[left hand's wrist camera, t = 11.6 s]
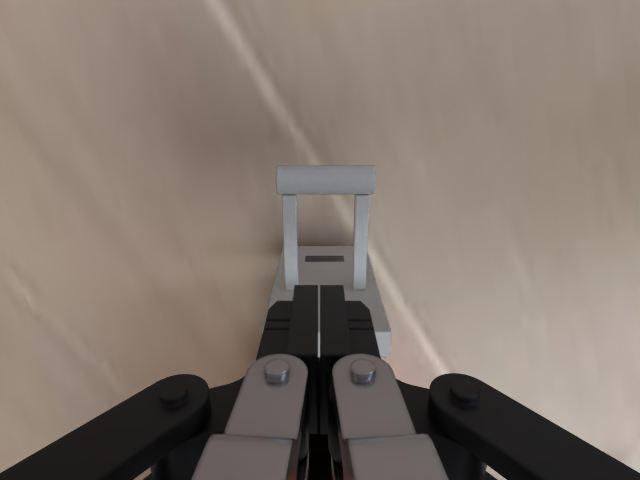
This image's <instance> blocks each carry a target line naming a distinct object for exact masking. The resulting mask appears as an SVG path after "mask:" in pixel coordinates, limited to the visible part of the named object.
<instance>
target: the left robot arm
mask: <svg viewBox="0 0 640 480" xmlns="http://www.w3.org/2000/svg"><path fill="white" fill-rule="evenodd" d="M317 416H318V285H295V286H294V293H293V301H276V302H275V303H274V304H273V305H272V306H271V307H270V308H269V309H268V313H267V317H266V322H265V325H264V330H263V334H262V338H261V342H260V346H259V350H258V354H257V359H256V361H255V362H254V363H252V364H251V366H250V367H249V368H248V370H247V373H246V375H245V376H244V377H243V378H241V379H240V380H238V381H236V382H233V383H230V384H227V385H223V386H219V387H214V388H210V389H209V387H208V384H207V383H206V381H205V380H203V379H202V378H200V377H198V376H195V375H190V374H181V375H174V376H170V377H167V378H164V379H162V380H160V381H158V382H156V383H154V384H153V385H151V386H149V387H147V388H146V389H144V390H142V391H141V392H139V393H137V394H135V395H134V396H132V397H130V398H129V399H127V400H125V401H123V402H122V403H120V404H118V405H117V406H115V407H113V408H111V409H110V410H108V411H106V412H105V413H103V414H101V415H99V416H98V417H96V418H94V419H93V420H91V421H89V422H87V423H86V424H84V425H82V426H80V427H79V428H77V429H75V430H74V431H72V432H70V433H68V434H67V435H65V436H63V437H62V438H60V439H58V440H56V441H55V442H53V443H51V444H50V445H48V446H46V447H44V448H43V449H41V450H39V451H38V452H36V453H34V454H32V455H31V456H29V457H27V458H26V459H24V460H22V461H20V462H19V463H17V464H15V465H14V466H12V467H10V468H8V469H7V470H5V471H3V472H2V473H0V480H133V479H135V478H136V477H137V476H139V475H140V474H141V473H143V472H144V471H145V470H147V469H148V468H149V467H151V472H152V473H151V474H150V475H148V476H147V477H146V478H144V479H143V480H307V476H308V467H309V434H317ZM320 434H328V444H329V452H330V454H331V467H332V476H333V480H497V479H496V478H494V477H493V476H492V475H490V474H489V473H488V472H486V467H487V465H488V466H489V467H491V468H492V469H493V470H495V471H496V472H497V473H499V474H500V475H501V476H503V477H504V478H505V479H507V480H640V473H638V472H637V471H635V470H633V469H632V468H630V467H628V466H626V465H625V464H623V463H621V462H620V461H618V460H616V459H614V458H613V457H611V456H609V455H608V454H606V453H604V452H602V451H601V450H599V449H597V448H596V447H594V446H592V445H590V444H589V443H587V442H585V441H584V440H582V439H580V438H578V437H577V436H575V435H573V434H572V433H570V432H568V431H566V430H565V429H563V428H561V427H559V426H558V425H556V424H554V423H553V422H551V421H549V420H547V419H546V418H544V417H542V416H541V415H539V414H537V413H535V412H534V411H532V410H530V409H529V408H527V407H525V406H523V405H522V404H520V403H518V402H517V401H515V400H513V399H511V398H510V397H508V396H506V395H505V394H503V393H501V392H499V391H498V390H496V389H494V388H493V387H491V386H489V385H487V384H486V383H484V382H482V381H480V380H478V379H476V378H474V377H471V376H468V375H464V374H456V373H450V374H444V375H441V376H438V377H437V378H435V379H434V380H433V381H432V383H431V385H430V389H426V388H422V387H418V386H413V385H410V384H406V383H404V382H401V381H399V380H397V379H396V378H395V375H394V373H393V370H392V368H391V367H390V366H389V364H388V363H386V362H385V361H384V360H382V359H381V357H380V353H379V348H378V344H377V340H376V335H375V331H374V327H373V322H372V318H371V314H370V309H369V308H368V307H367V306H366V305H365V304H363V303H362V302H361V301H345V295H344V286H343V285H320Z"/></svg>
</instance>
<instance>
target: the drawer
mask: <svg viewBox="0 0 640 480" xmlns="http://www.w3.org/2000/svg"><path fill="white" fill-rule="evenodd" d="M375 182H376V175H375V167H374V166H373V165H347V166H277V168H276V190H277V194H279V195H282V214H283V240H284V246H283V248H282V252H281V256H280V260H279V264H278V268H277V272H276V276H275V280H274V284H273V288H272V292H271V296H270V300H269V305H268V309H269V308H270V307H271V306H272V305H273V304H274V303H275V302H276V301H293V293H294V286H295V285H318V416H317V434H309V467H308V476H307V480H333V476H332V467H331V454H330V452H329V444H328V434H320V285H343V286H344V295H345V301H361V302H362V303H363V304H365V305H366V306H367V307H368V308H369V309H370V314H371V318H372V322H373V327H374V331H375V335H376V340H377V344H378V348H379V353H380V357H389V356H390V349H391V335H392V332H391V329H390V325H389V322H388V319H387V315H386V312H385V309H384V306H383V302H382V299H381V296H380V292H379V289H378V286H377V282H376V279H375V276H374V272H373V269H372V266H371V262H370V259H369V256H368V252H367V240H368V215H369V195H368V194H374V191H375ZM300 194H354V232H353V246H298V243H297V202H296V195H300ZM268 309H267V313H268ZM267 313H266V317H267ZM266 317H265V321H264V325H265V322H266ZM264 325H263V329H262V334H263V330H264Z"/></svg>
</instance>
